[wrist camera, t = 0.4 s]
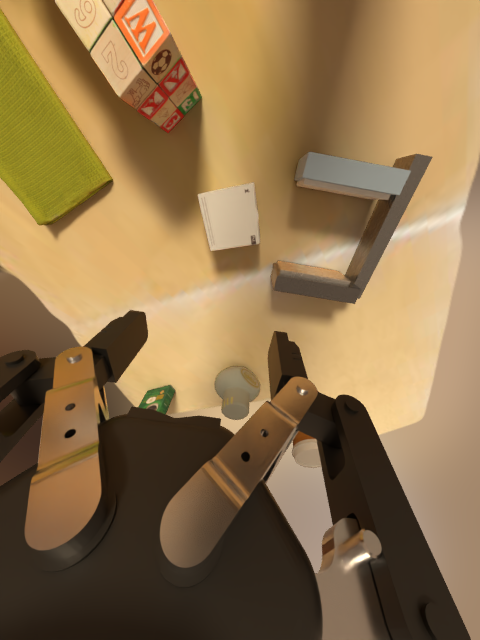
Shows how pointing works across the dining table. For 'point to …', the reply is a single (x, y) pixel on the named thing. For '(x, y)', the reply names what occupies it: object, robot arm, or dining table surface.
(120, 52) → the stack of blocks
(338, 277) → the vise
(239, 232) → the small box
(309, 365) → the dining table surface
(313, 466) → the disposable coffee cup
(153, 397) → the coffee box
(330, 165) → the block
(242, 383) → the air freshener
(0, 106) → the dish towel
